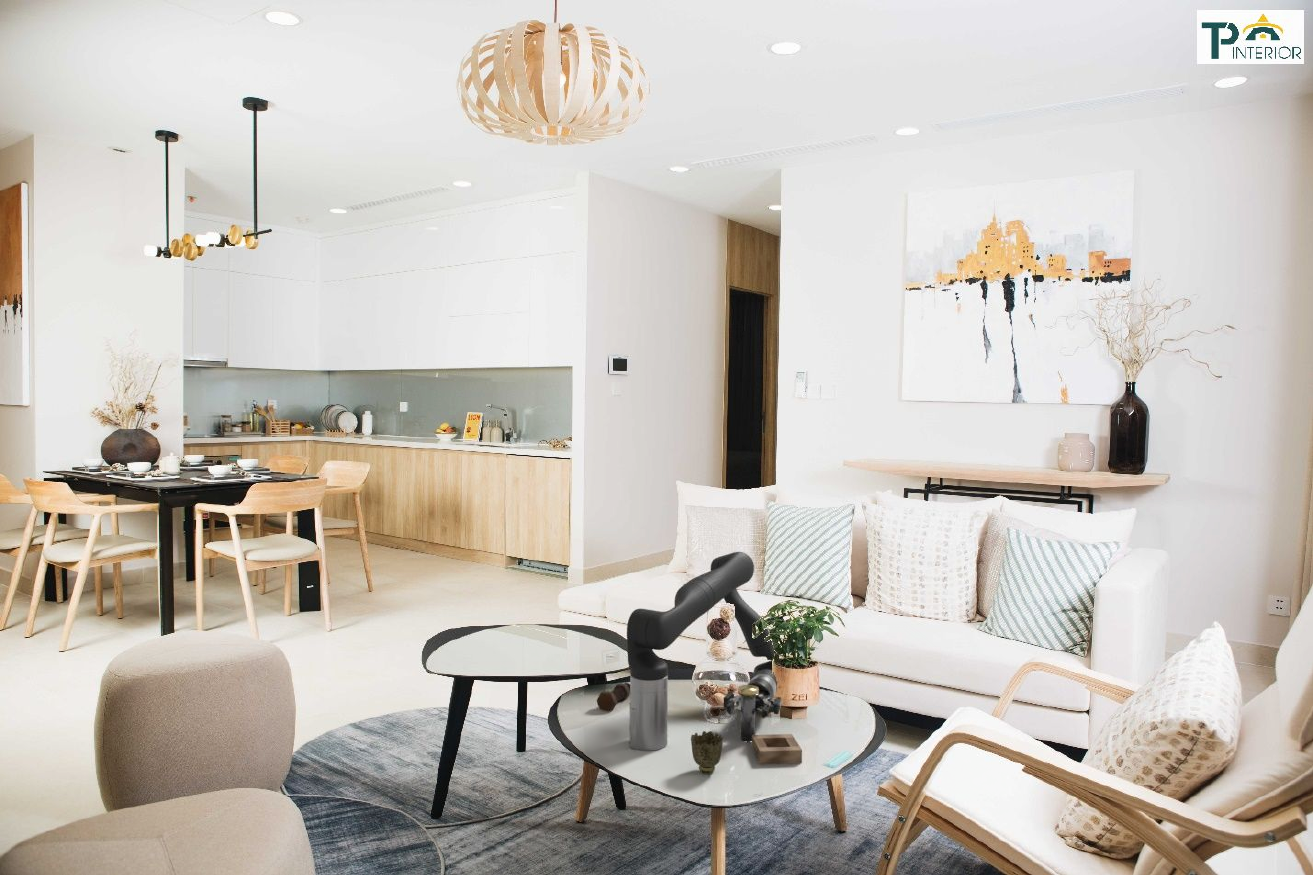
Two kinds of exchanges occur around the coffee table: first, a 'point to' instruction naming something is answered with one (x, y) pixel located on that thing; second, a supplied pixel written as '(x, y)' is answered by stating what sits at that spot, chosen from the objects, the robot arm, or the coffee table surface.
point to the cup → (707, 750)
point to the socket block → (776, 749)
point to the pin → (747, 711)
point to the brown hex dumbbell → (613, 696)
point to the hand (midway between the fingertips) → (746, 712)
